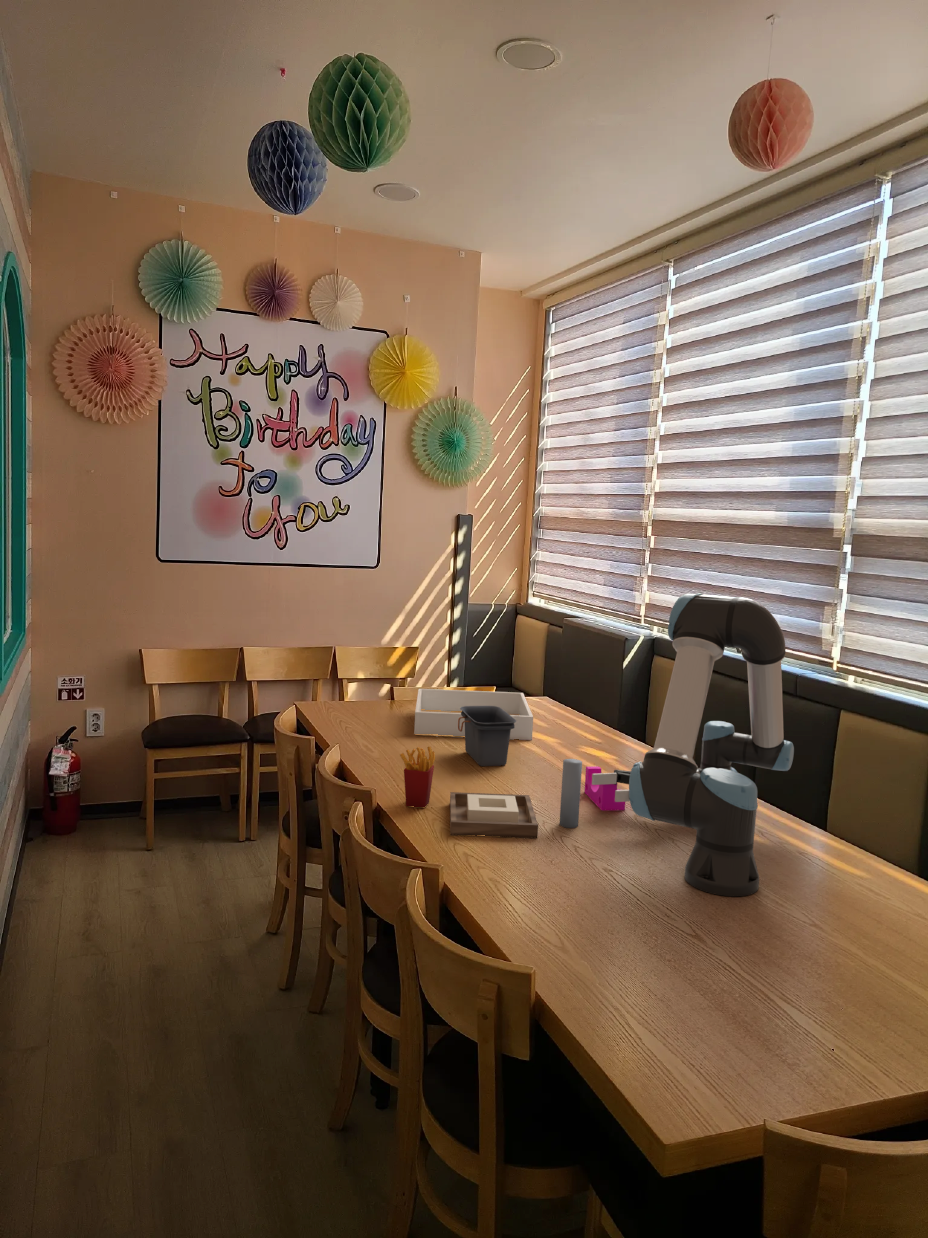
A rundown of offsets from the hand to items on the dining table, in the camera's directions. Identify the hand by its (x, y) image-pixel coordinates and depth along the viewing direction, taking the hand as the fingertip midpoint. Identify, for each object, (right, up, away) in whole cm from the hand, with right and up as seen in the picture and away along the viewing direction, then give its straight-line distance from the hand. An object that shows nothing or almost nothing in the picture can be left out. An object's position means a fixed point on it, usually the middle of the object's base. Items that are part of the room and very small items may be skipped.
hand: (603, 787), depth 225 cm
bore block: (-28, -8, -1) cm, 29 cm away
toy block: (+3, -7, +18) cm, 20 cm away
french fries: (-47, -6, +9) cm, 48 cm away
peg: (-9, -9, -2) cm, 13 cm away
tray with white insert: (-28, -8, -1) cm, 29 cm away
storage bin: (-29, -1, +53) cm, 61 cm away
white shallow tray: (-32, +4, +98) cm, 103 cm away
